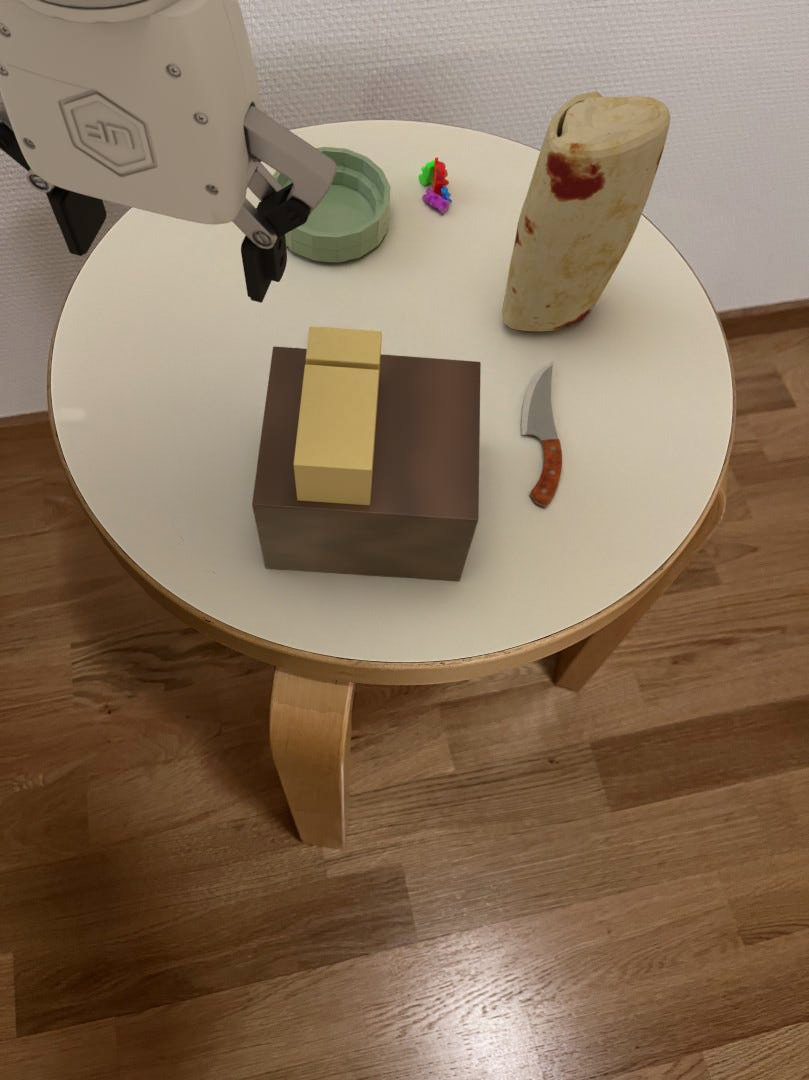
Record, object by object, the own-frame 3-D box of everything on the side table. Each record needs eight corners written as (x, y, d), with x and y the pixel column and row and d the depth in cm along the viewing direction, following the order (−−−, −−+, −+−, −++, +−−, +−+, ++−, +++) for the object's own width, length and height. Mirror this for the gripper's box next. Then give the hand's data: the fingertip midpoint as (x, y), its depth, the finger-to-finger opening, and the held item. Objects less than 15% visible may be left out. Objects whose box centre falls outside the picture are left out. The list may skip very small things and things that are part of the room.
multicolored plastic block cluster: (453, 216, 79) (458, 185, 76) (423, 217, 79) (426, 186, 76) (447, 174, 81) (451, 142, 78) (417, 175, 81) (420, 143, 78)
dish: (266, 261, 76) (263, 231, 73) (279, 174, 80) (276, 142, 77) (384, 270, 76) (386, 241, 73) (391, 183, 80) (393, 152, 77)
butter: (297, 500, 55) (293, 464, 51) (307, 405, 58) (305, 363, 54) (370, 505, 56) (372, 470, 52) (377, 410, 59) (379, 369, 54)
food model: (516, 360, 73) (572, 163, 55) (479, 299, 76) (521, 92, 57) (619, 324, 75) (705, 123, 57) (580, 266, 78) (651, 56, 60)
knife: (519, 357, 72) (556, 358, 73) (518, 361, 73) (555, 363, 73) (524, 503, 67) (565, 505, 67) (523, 507, 67) (563, 508, 67)
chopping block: (264, 568, 64) (251, 504, 55) (282, 425, 69) (272, 345, 60) (459, 581, 65) (478, 520, 56) (463, 438, 70) (480, 361, 61)
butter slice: (308, 400, 59) (305, 358, 54) (311, 368, 60) (309, 325, 56) (377, 405, 59) (379, 364, 55) (379, 373, 60) (382, 330, 56)
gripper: (-194, -78, 30) (-11, 271, 46) (294, 39, 29) (313, 356, 45) (-85, -195, 34) (52, 169, 49) (360, -93, 33) (356, 246, 48)
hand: (176, 258), depth 47 cm, fingers open, 9 cm apart
